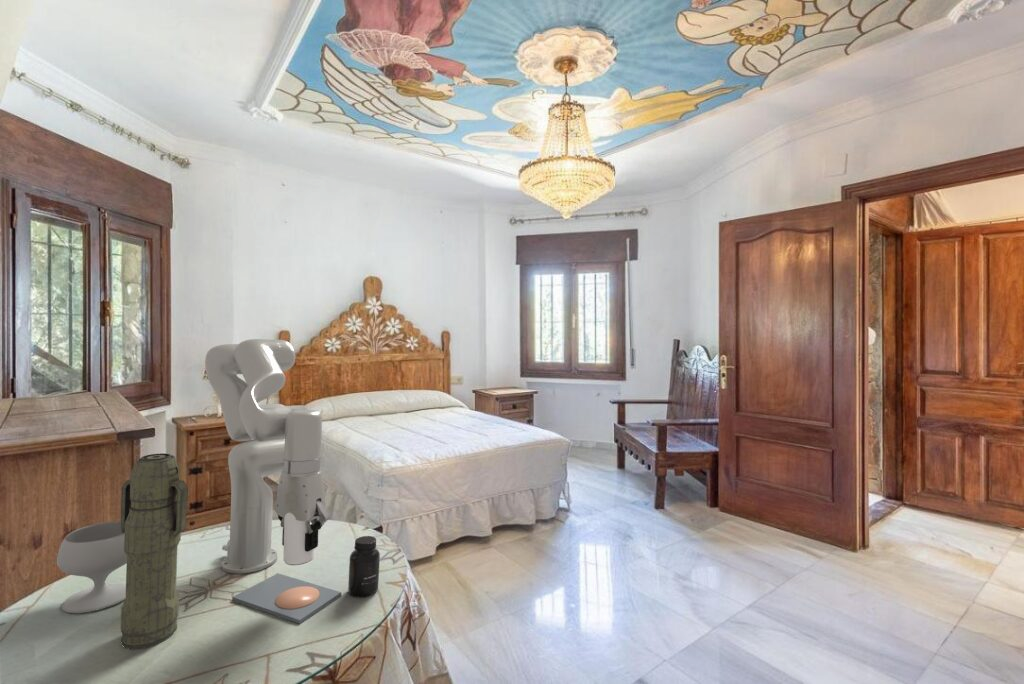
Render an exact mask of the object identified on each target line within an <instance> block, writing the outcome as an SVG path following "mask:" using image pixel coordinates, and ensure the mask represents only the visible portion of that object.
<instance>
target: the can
mask: <svg viewBox="0 0 1024 684" xmlns="http://www.w3.org/2000/svg"><path fill="white" fill-rule="evenodd" d="M311 522H312V525H313V524H314V519H313V520H311ZM305 533H308V531H307V527H306V523H305V522H302V521H298V520H296V519H295V516H294V515H293V514H292V513H287V514H286V515H285V517H284V546H283V562H284V563H285V564H286V565H288V566H302V565H304V564H307V563H309V562H311V561H312V560H313V559H314V558H315V555H316V548H314V549H312V550H310V551H308V552H307V551H305Z"/></svg>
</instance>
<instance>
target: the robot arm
mask: <svg viewBox="0 0 1024 684" xmlns="http://www.w3.org/2000/svg"><path fill="white" fill-rule="evenodd" d="M295 351H296V350H295V349H294V347H293V345H292V344H291V343H290V342H289V341H287V340H283V339H270V338H269V339H267V338H266V339H263V338H261V339H260V338H259V339H258V338H256V339H255V338H253V339H252V338H250V339H246V340H243V341H241V342H239V343H229V344H219V345H215V346H213V347H212V348H210V349H209V350H208V351H207V352H206V355H205V360H204V365H205V367H204V368H205V372H206V377H207V379H208V382H209V385H210V386H211V387H212V389H213V391H214V392H215V394H216V395H217V397H218V400H219V403H220V407H221V412H222V416H223V419H224V425H225V427H226V431H227V434H228V436H229V437H230V438H231V440H233V441H235V442H241V443H238V444H236V445H235V446H233V447H232V449H231V450H230V451H229V453H228V457H227V460H228V461H227V465H228V469H229V476H230V490H231V491H230V525H229V526H230V527H229V539H228V541H227V543H226V544H224V545H222V548H221V549H222V551H225V552H227V554H226V555H227V556H226V557H225V558H224V559H223V560H222V562H221V569H222V570H223V571H224V572H225V573H229V574H235V575H237V574H238V575H239V574H249V573H254V572H258V571H261V570H264V569H266V568H268V567H270V566H272V565H273V564H274V563H275V562H276V561H277V560H278V552H277V551H276V550H274V549H272V530H273V528H272V527H273V509H274V512H275V513H276V515H277V517H278V520H279V521H280V527H281V528H282V538H281V540H282V541H281V545H282V546H283V547H284V517H285V515H286V514H287V513H292V514H293V515H294V516H295V519H296V520H298V521H302V522H305V523H306V527H307V531H308V533H305V551H307V552H308V551H310V550H312V549H314V548H315V549H316V548H317V547H318V546H319V530H321V528H322V527H323V526H324V525H325V523H327V521H329V520H330V515H329V513H328V512H327V510H326V509H325V487H324V486H325V485H324V477H323V473H322V471H321V465H322V464H321V462H322V459H321V458H322V433H323V432H322V429H323V428H322V427H323V417H322V416H323V415H322V414H321V412H320V410H315V409H311V408H309V406H306V405H300V404H299V405H298V404H297V405H296V404H295V405H284V404H281V403H265V404H263V403H259V402H262V401H263V400H266V399H268V398H270V397H272V396H274V395H276V394H278V393H279V392H280V390H281V389H283V388H284V386H285V384H286V375H285V373H284V372H286V371H289V370H290V369H292V368H293V367H294V365H295V362H296V352H295ZM238 375H242V377H243V378H244V380H243V379H242V378H240V377H239V376H238ZM279 474H280V477H279V480H278V484H277V491H276V492H277V493H276V501H275V502H276V503H275V505H274V506H273V504H274V501H273V500H274V495H273V494H274V493H273V490H272V488H271V487H270V486H269V485H268V483H267V482H266V481H265V480H264V478H265V477H268V476H274V475H279ZM313 519H314V524H313V525H312V522H311V520H313Z"/></svg>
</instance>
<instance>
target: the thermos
mask: <svg viewBox="0 0 1024 684" xmlns="http://www.w3.org/2000/svg"><path fill="white" fill-rule="evenodd" d="M188 493H189V486H188V485H187V483H186V482H185V480H180V467H179V464H178V462H177V459H176V456H175V455H172V454H170V453H151V454H146V455H143V456H141V457H140V458H137V459H136V461H135V463H134V465H133V468H132V470H131V473H130V479H127V480H126V481H125V483H124V484H123V485H122V486H121V501H120V503H121V504H120V521H121V531H122V533H125V536H124V551H125V553H126V555H127V563H126V574H125V575H126V577H125V579H126V580H125V583H126V597H125V600H123V601H124V602H123V604H122V607H121V610H120V611H121V612H120V613H121V614H120V616H121V617H120V633H121V641H120V643H121V642H122V643H121V646H122V645H123V646H124V647H125V649H127V648H129V649H128V650H140V649H141V648H142V649H147V648H149V647H154V646H155V645H158V644H161V643H162V642H163V643H164V642H165V641H166V640H168V639H170V638H171V637H173V635H174V634H175V633H176V632H175V631H177V629H178V616H179V612H180V611H179V609H180V608H179V607H180V605H179V603H180V595H179V591H178V589H177V575H178V574H177V569H178V545H179V544H180V542H181V539H182V538H181V537H182V532H184V531H185V530H186V528H187V509H188V495H189V494H188ZM174 632H175V633H174ZM123 646H122V647H123ZM124 647H123V648H124Z"/></svg>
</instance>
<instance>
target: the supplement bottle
mask: <svg viewBox="0 0 1024 684" xmlns="http://www.w3.org/2000/svg"><path fill="white" fill-rule="evenodd" d="M353 548H354V550H353V551H352V552H351V554H350V555H349V564H348V565H349V566H348V583H347V591H348V593H349V595H350V596H352V597H354V598H366V597H370V596H373V595H374V594H375V593H376V592H377V591H378V590H379V581H380V580H379V579H380V576H379V575H380V562H381V561H380V560H381V559H380V558H381V554H380V551H379V549H377V537H374V536H370V535H363V536H359V537H357V538H356V539H355V541H354V547H353Z"/></svg>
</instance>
